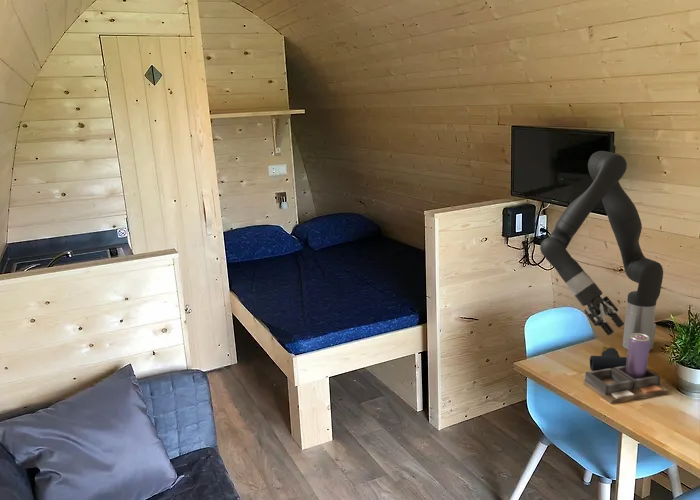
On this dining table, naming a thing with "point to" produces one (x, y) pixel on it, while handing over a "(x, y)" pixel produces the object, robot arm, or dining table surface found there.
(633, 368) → the beverage can
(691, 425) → the dining table surface
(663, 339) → the dining table surface
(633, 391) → the socket board
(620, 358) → the pipe connector
